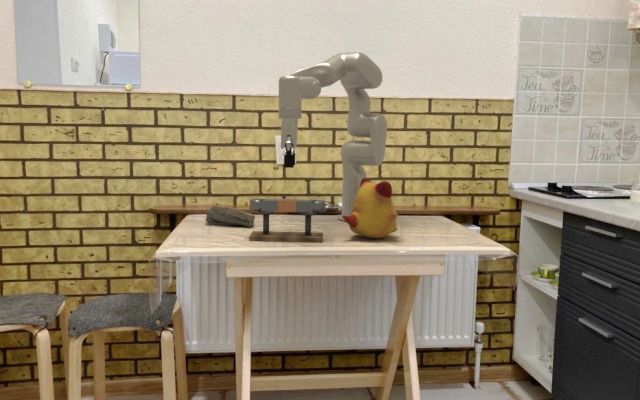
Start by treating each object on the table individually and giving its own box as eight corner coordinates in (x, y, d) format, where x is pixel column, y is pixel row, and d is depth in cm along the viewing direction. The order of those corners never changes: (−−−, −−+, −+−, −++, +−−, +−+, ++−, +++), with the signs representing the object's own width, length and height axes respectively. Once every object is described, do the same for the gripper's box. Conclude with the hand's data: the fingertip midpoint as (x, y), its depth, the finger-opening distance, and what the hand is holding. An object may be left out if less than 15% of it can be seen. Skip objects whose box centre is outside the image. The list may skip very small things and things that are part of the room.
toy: (409, 240, 193) (412, 181, 190) (359, 247, 182) (361, 184, 179) (373, 230, 210) (375, 175, 207) (325, 235, 198) (326, 178, 196)
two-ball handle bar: (325, 210, 193) (325, 199, 193) (324, 212, 188) (325, 201, 188) (250, 208, 193) (250, 197, 193) (248, 211, 188) (248, 199, 188)
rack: (322, 236, 196) (323, 209, 195) (322, 242, 187) (323, 213, 186) (252, 235, 197) (252, 207, 195) (249, 240, 188) (249, 212, 186)
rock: (242, 240, 208) (253, 215, 208) (198, 220, 210) (209, 195, 210) (249, 239, 219) (260, 215, 218) (207, 220, 221) (217, 196, 221)
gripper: (280, 114, 198) (280, 163, 201) (276, 114, 181) (276, 168, 184) (302, 114, 198) (301, 163, 201) (300, 114, 181) (300, 168, 184)
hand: (289, 166), depth 192 cm, fingers open, 9 cm apart
